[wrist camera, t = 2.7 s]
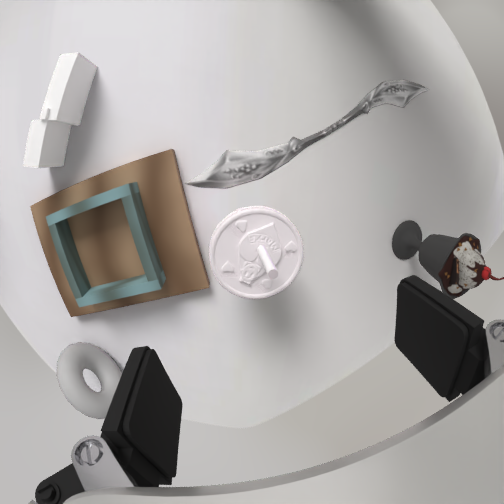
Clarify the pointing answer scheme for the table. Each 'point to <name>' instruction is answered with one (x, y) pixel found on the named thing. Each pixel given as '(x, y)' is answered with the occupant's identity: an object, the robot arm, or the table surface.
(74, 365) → the donut
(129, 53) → the table surface
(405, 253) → the sundae
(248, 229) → the smoothie
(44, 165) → the white stepped block
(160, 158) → the holder board
